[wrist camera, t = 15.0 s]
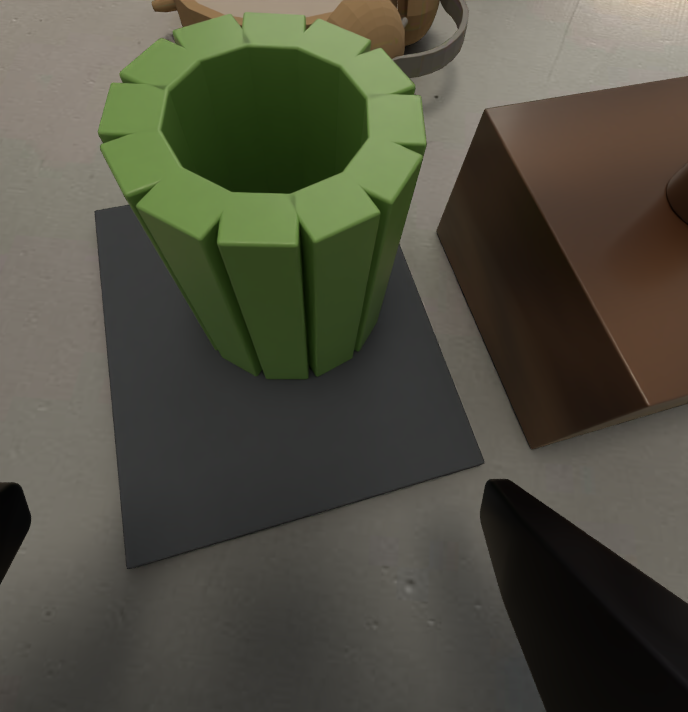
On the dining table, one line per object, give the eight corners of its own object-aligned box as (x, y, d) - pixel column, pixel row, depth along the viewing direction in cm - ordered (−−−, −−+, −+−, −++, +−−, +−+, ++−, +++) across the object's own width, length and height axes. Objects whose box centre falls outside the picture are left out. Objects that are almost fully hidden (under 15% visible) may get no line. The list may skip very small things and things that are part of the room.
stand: (755, 383, 17) (1175, 245, 9) (530, 449, 16) (776, 360, 7) (629, 191, 20) (843, -41, 12) (435, 230, 19) (527, -2, 11)
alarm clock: (238, -117, 23) (515, -104, 19) (263, -9, 28) (492, 22, 23) (108, -10, 19) (421, 37, 15) (161, 97, 24) (415, 156, 19)
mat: (480, 465, 15) (485, 463, 15) (132, 568, 13) (125, 569, 13) (366, 170, 20) (367, 162, 20) (99, 218, 18) (93, 210, 18)
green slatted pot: (412, 326, 17) (488, 163, 9) (248, 414, 15) (179, 303, 8) (323, 200, 19) (326, -17, 11) (170, 265, 17) (55, 63, 10)
